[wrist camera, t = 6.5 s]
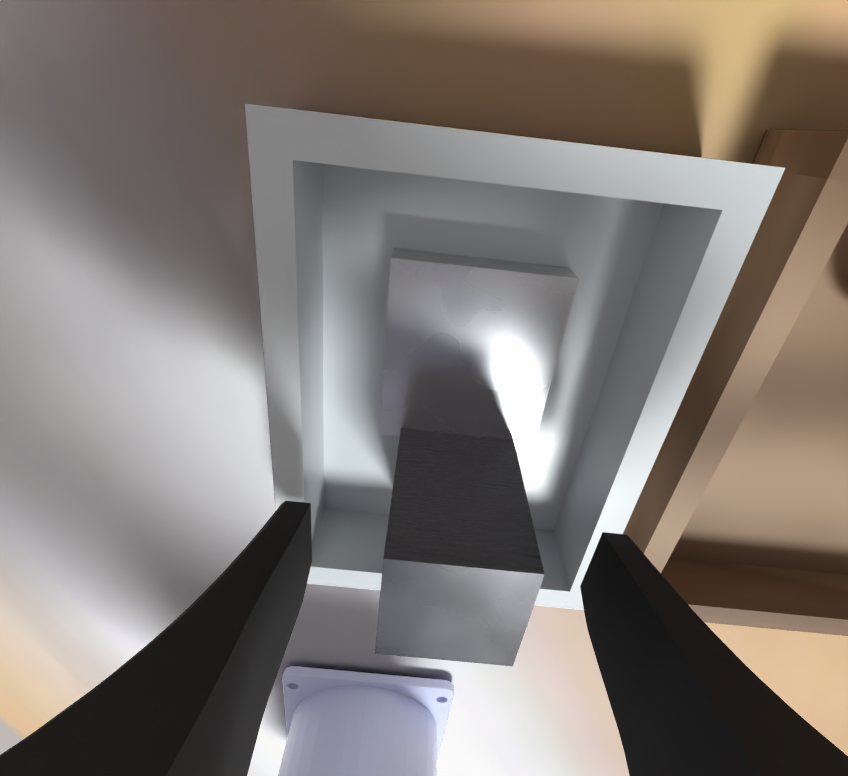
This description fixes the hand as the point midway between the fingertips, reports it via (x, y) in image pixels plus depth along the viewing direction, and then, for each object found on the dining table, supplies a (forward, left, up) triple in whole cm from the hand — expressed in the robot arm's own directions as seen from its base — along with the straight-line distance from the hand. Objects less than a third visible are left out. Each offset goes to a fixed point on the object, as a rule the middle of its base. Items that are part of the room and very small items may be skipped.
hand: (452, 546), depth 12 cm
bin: (+3, 0, -4) cm, 5 cm away
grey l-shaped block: (+2, 0, -4) cm, 4 cm away
